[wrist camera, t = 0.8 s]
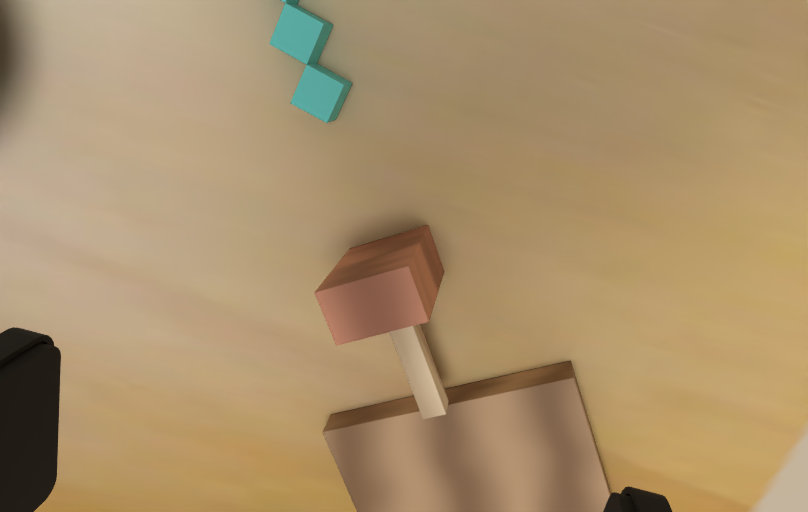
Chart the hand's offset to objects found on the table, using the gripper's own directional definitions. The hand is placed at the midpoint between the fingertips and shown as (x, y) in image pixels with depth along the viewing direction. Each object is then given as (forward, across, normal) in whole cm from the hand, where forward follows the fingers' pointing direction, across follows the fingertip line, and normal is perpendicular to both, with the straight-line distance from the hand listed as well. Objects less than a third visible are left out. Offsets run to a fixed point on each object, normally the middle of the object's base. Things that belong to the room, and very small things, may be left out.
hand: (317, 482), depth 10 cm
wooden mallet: (+26, -1, +8) cm, 27 cm away
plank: (+26, -7, +18) cm, 32 cm away
